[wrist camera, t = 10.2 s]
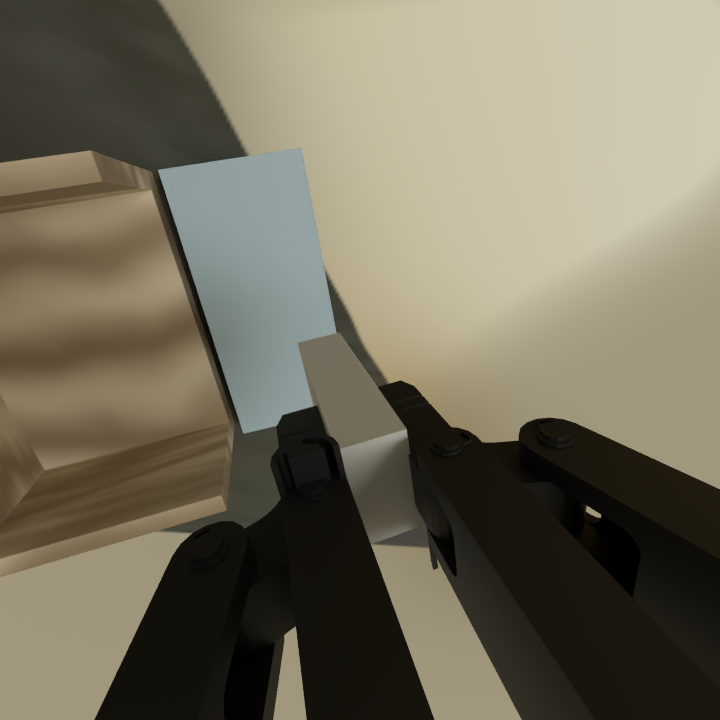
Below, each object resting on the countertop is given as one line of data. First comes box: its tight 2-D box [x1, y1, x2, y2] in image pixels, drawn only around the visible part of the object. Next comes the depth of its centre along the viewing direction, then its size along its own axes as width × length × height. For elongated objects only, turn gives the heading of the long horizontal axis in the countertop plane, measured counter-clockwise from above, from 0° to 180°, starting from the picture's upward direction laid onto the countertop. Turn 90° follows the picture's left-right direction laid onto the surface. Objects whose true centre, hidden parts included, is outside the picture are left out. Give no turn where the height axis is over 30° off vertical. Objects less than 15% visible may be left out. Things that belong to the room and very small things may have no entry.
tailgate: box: [158, 148, 336, 434], centre depth 30 cm, size 20×2×9 cm
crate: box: [0, 151, 235, 577], centre depth 24 cm, size 20×15×11 cm
